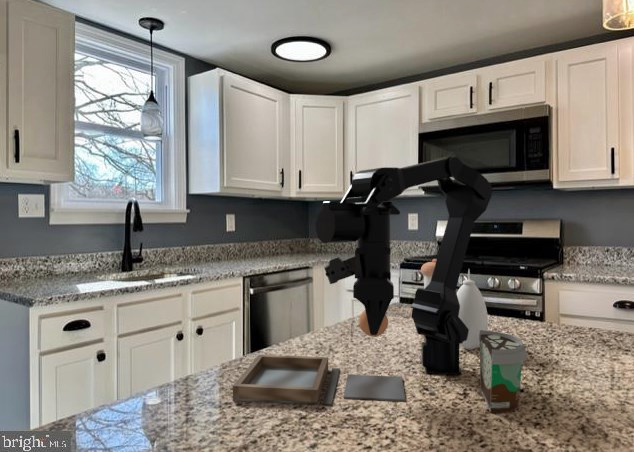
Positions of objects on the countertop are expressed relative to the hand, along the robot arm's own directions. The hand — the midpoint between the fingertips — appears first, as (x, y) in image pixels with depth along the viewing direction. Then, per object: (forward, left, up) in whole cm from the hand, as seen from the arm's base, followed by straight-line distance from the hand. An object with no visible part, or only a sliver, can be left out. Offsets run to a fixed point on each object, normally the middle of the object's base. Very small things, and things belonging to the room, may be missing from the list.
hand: (373, 330), depth 76 cm
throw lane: (+9, 0, -10) cm, 13 cm away
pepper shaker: (-15, -35, -10) cm, 40 cm away
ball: (0, 0, +2) cm, 2 cm away
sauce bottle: (-21, -25, -10) cm, 34 cm away
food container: (-21, +3, -10) cm, 24 cm away
